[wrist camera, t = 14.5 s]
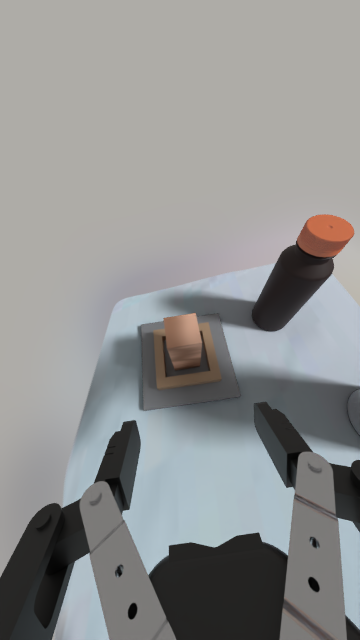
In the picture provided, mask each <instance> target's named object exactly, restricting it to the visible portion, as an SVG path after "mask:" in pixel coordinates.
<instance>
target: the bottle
mask: <svg viewBox="0 0 360 640" xmlns="http://www.w3.org/2000/svg"><path fill="white" fill-rule="evenodd" d="M353 235H354V230H353V227H352V226H351V224H350V223H348V222H347V221H346V220H344V219H342V218H340V217H336V216H333V215H316V216H313V217H311V218H309V219H308V220H307V222H306V223H305V225H304V227H303V229H302V231H301V233H300V235H299V236H298V238H297V241H296V245H293V246H290V247H288V248H287V249H285V250H284V251H283V252H282V253H281V255H280V257H279V259H278V261H277V263H276V265H275V267H274V269H273V270H272V272H271V274H270V276H269V278H268V280H267V282H266V284H265V286H264V288H263V290H262V292H261V294H260V296H259V298H258V300H257V302H256V304H255V306H254V308H253V310H252V318H253V320H254V322H255V324H256V325H258V326H259V327H260V328H262V329H264V330H267V331H277V330H280V329H282V328H283V327H284V326H285V325H286V324H287V323H288V322H289V321H290V320H291V318H292V317H293V316H294V315H295V314H296V313H297V312H298V311H299V310H300V309H301V307H302V306H303V305H304V304H305V303H306V302H307V301H308V300H309V299H310V298H311V296H312V295H313V294H314V293H315V292H316V291H317V290H318V289H319V288H320V286H321V285H322V284H323V283H324V282H325V281H326V280H327V279H328V278H329V277H330V275H331V274H332V272H333V269H334V263H333V259H332V258H334V257H335V256H336V255H337V254H338V253H339V252H340V251H341V250H342V249H343V248H344V247H345V245H346V244H347V243H348V242H349V240H350V239H351V238H352V237H353Z"/></svg>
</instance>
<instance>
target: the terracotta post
mask: <svg viewBox="0 0 360 640" xmlns="http://www.w3.org/2000/svg"><path fill="white" fill-rule="evenodd" d="M164 326H165V335H166V343H167V350H168V352H169V355H170V358H171V361H172V364H173V366H174V369H175V371H176V370H182V369H188V368H194V367H200V361H201V350H202V340H201V335H200V331H199V326H198V322H197V317H196V313H192V314H186V315H180V316H174V317H167V318H164Z"/></svg>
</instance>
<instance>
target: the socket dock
mask: <svg viewBox="0 0 360 640" xmlns="http://www.w3.org/2000/svg"><path fill="white" fill-rule="evenodd" d="M197 322H198V326H199V331H200V335H201V340H202V350H201V361H200V367H194V368H188V369H182V370H176V371H175V369H174V366H173V364H172V361H171V358H170V355H169V352H168V350H167V343H166V335H165V326H164V321H162V322H155V323H149V324H142V325H141V337H142V373H143V410H144V411H147V410H154V409H161V408H168V407H174V406H181V405H188V404H195V403H202V402H208V401H215V400H222V399H229V398H236V397H240V396H241V395H240V391H239V387H238V384H237V380H236V376H235V373H234V369H233V365H232V362H231V358H230V354H229V351H228V347H227V343H226V340H225V336H224V332H223V328H222V325H221V321H220V317H219V314H218V313H217V314H211V315H204V316H197Z"/></svg>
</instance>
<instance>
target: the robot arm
mask: <svg viewBox="0 0 360 640" xmlns="http://www.w3.org/2000/svg"><path fill="white" fill-rule="evenodd" d="M348 415H349V418H350V421H351V423H352V425H353V427H354V428H355V430H356V432H357V433H358V434H359V435H360V389H359V390H356V391H355V392H354V393H352V394H351V396H350V398H349V400H348ZM254 422H255V427H256V430H257V432H258V434H259V436H260V438H261V440H262V442H263V444H264V446H265V448H266V450H267V452H268V454H269V455H270V457H271V459H272V461H273V463H274V465H275V467H276V469H277V471H278V473H279V475H280V477H281V478H282V480H283V482H284V484H285V486H286V488H288V487H293V488H294V489H295V495H294V502H293V512H292V522H291V533H290V543H289V553H288V555H286V554H285V553H284V552H283V551H281V550H280V549H278V548H276V547H274V546H273V545H270V544H268V543H265V542H262V541H261V537H260V534H259V533H253V534H246V535H239V536H236V537H234V538H232V539H230V540H229V541H227V542H225V543H223V544H222V545H220V546H218V547H215V548H214V547H209V546H204V545H200V544H196V543H184V544H177V545H170V546H169V556H167V557H165V558H164V559H163V560H161V561H160V562H159V563H158V564H157V565H156V566H155V567H154V569H153V570H152V571H151V572H150V574H149V575H148V574H147V572H146V569H145V567H144V565H143V562H142V560H141V558H140V555H139V553H138V551H137V548H136V546H135V544H134V541H133V539H132V536H131V534H130V532H129V529H128V527H127V525H126V523H125V521H124V520H123V518H122V512H123V511H124V510H129V509H130V503H131V498H132V492H133V487H134V481H135V475H136V470H137V464H138V459H139V453H140V446H141V442H140V435H139V431H138V427H137V423H136V421H135V420H133V421H126V422H123V425H122V428H121V431H118V432H115V433H114V435H113V436H112V437H111V439H110V441H109V444H108V446H107V449H106V452H105V456H104V457H103V460H102V463H101V465H100V468H99V471H98V474H97V476H96V479H95V482H94V484H93V485H91V486H90V487H89V488H88V489H87V490H86V491H85V493H84V494H83V496H82V498H81V499H79V500H78V501H76V502H74V503H72V504H70V505H68V506H66V507H64V508H61V507H60V505H59V504H56V503H53V504H49V505H47V506H45V507H44V508H42V509H41V510H40V511H38V512H37V513H36V514H35V516H34V517H33V518H32V520H31V521H30V522H29V524H28V526H27V528H26V530H25V532H24V533H23V535H22V537H21V539H20V541H19V543H18V545H17V547H16V549H15V551H14V553H13V555H12V556H11V558H10V560H9V562H8V564H7V566H6V568H5V570H4V572H3V574H2V576H1V577H0V640H52V637H53V634H54V630H55V627H56V623H57V620H58V617H59V613H60V610H61V607H62V603H63V600H64V596H65V593H66V590H67V586H68V583H69V579H70V576H71V573H72V569H73V566H74V563H75V561H76V560H78V559H79V558H81V557H83V556H84V555H86V554H88V553H90V559H91V564H92V568H93V572H94V576H95V581H96V585H97V589H98V593H99V597H100V601H101V606H102V610H103V614H104V618H105V622H106V627H107V631H108V635H109V639H110V640H360V630H359V629H358V628H357V627H356V625H355V624H354V623H353V622H352V621H351V620H350V619H349V618H348V617H347V616H346V615H345V606H344V593H343V579H342V565H341V552H340V538H339V525H338V518H341V519H345V520H349V521H353V523H354V524H355V526H356V527H357V529H358V531H359V532H360V460H356V461H354V462H353V463H352V466H351V467H347V466H341V465H335V464H331V463H328V462H327V460H325V459H324V458H323V457H322V456H320V455H318V454H316V453H313V451H312V450H311V449H310V448H309V446H308V445H307V444H306V442H305V441H304V440H303V439H302V437H301V436H300V435H299V433H298V432H297V431H296V429H294V427H293V426H292V424H291V423H290V422H289V420H288V419H287V418H286V416H285V415H284V414H283V413H281V412H280V411H278V410H277V409H273V410H272V409H271V408H270V406H269V405H268V404H267V402H261V403H254Z"/></svg>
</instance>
